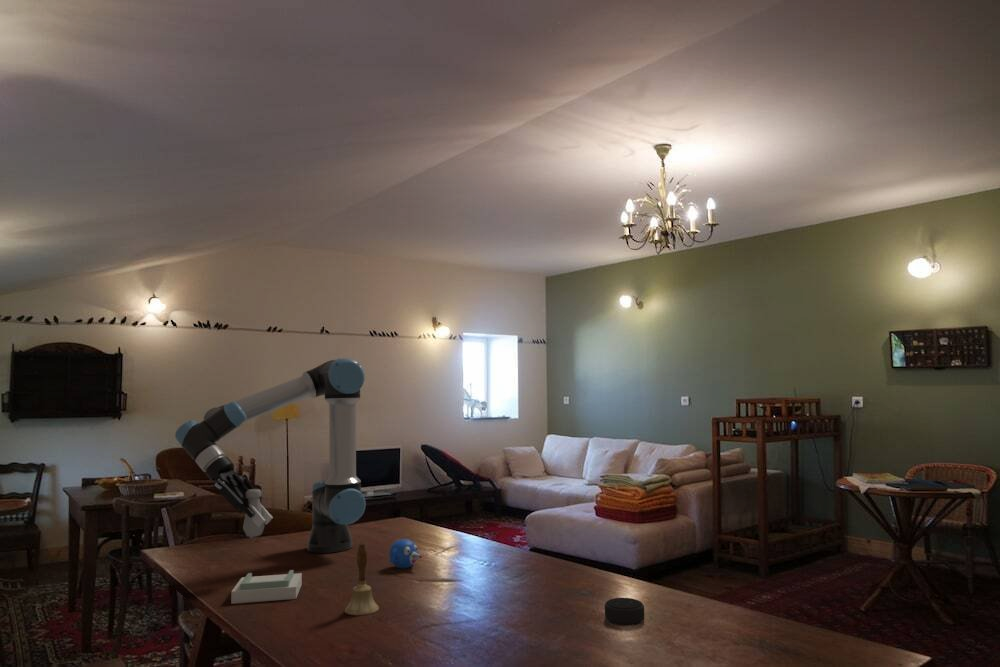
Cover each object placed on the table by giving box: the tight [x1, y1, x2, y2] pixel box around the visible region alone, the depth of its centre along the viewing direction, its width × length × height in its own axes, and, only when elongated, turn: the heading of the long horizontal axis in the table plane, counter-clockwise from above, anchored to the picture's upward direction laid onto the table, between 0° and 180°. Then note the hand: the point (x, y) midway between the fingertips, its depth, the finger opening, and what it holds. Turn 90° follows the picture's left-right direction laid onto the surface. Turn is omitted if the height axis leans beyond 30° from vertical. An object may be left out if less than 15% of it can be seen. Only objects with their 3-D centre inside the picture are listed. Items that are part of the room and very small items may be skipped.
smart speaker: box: [604, 597, 646, 626], centre depth 155 cm, size 9×9×4 cm
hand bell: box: [344, 542, 380, 616], centre depth 167 cm, size 8×8×16 cm
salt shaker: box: [242, 488, 266, 538], centre depth 196 cm, size 6×6×13 cm
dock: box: [230, 569, 303, 604], centre depth 182 cm, size 16×14×4 cm
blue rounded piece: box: [388, 538, 423, 569], centre depth 205 cm, size 12×12×8 cm
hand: (265, 522), depth 195 cm, fingers closed on salt shaker, 3 cm apart
